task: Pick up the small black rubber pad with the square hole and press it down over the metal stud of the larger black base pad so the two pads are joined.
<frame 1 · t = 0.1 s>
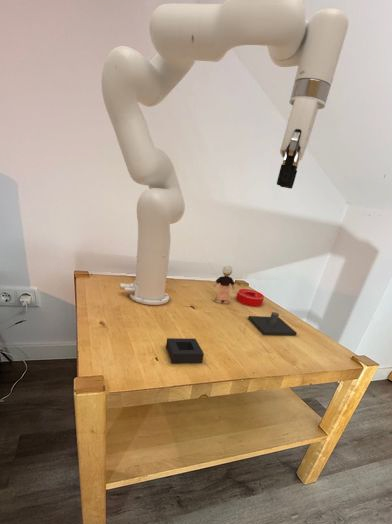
hand: (284, 186, 72), 37 cm above the table, tool pointing down, fingers open, 9 cm apart
grandmother figurine: (220, 302, 104), on the table
top pad: (183, 355, 69), on the table
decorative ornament: (248, 301, 110), on the table
base pad: (271, 326, 92), on the table
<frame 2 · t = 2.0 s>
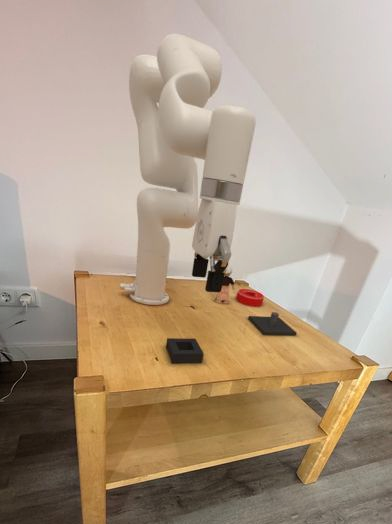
hand: (205, 283, 63), 17 cm above the table, tool pointing down, fingers open, 9 cm apart
nothing on the table moved.
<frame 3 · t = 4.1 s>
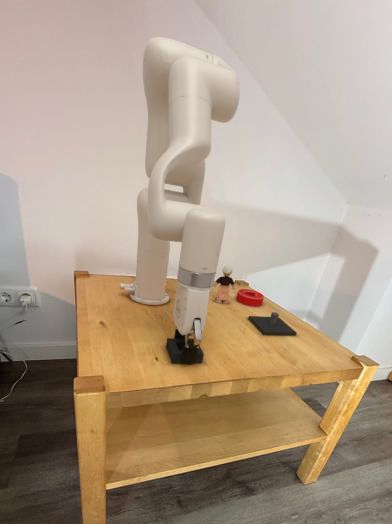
hand: (184, 352, 68), 1 cm above the table, tool pointing down, fingers closed on top pad, 7 cm apart
top pad: (183, 355, 69), on the table, touching gripper
everything else where it was.
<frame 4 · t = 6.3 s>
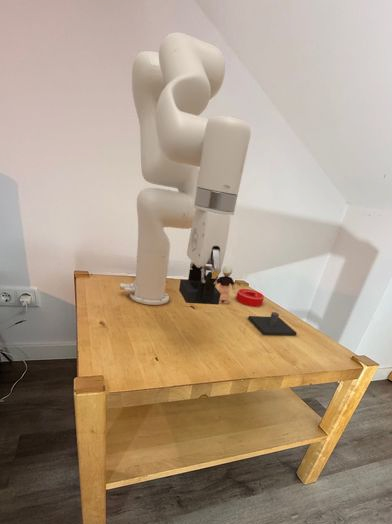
hand: (198, 293, 63), 15 cm above the table, tool pointing down, fingers closed on top pad, 7 cm apart
top pad: (198, 297, 63), point 14 cm above the table, touching gripper
everything else where it was.
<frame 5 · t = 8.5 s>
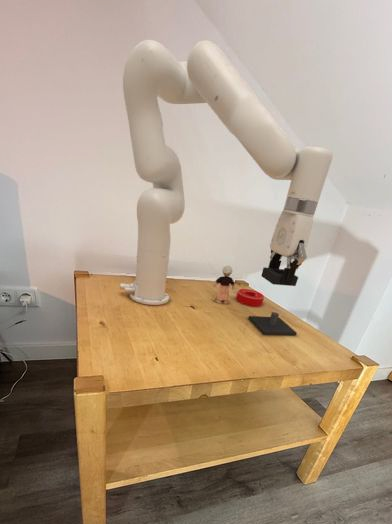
hand: (278, 278, 81), 16 cm above the table, tool pointing down, fingers closed on top pad, 7 cm apart
top pad: (277, 281, 82), point 15 cm above the table, touching gripper
everything else where it was.
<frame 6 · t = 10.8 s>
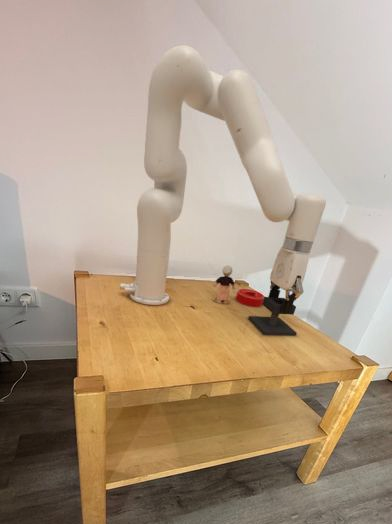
hand: (278, 306, 89), 7 cm above the table, tool pointing down, fingers closed on top pad, 7 cm apart
top pad: (277, 309, 89), point 6 cm above the table, touching gripper
everything else where it was.
when the fingers open (2 cm above the table, at t = 12.7 s): top pad stays where it is, resting on base pad.
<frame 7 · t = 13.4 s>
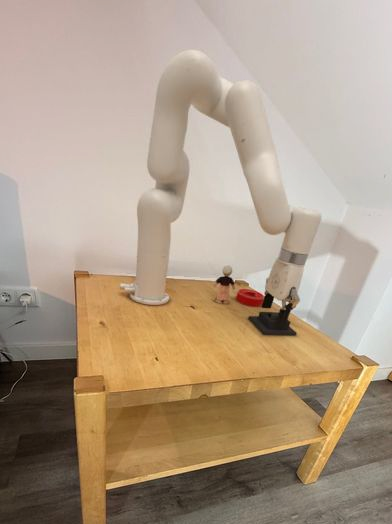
hand: (273, 314, 90), 4 cm above the table, tool pointing down, fingers open, 9 cm apart
top pad: (272, 324, 91), point 1 cm above the table, touching base pad
everything else where it was.
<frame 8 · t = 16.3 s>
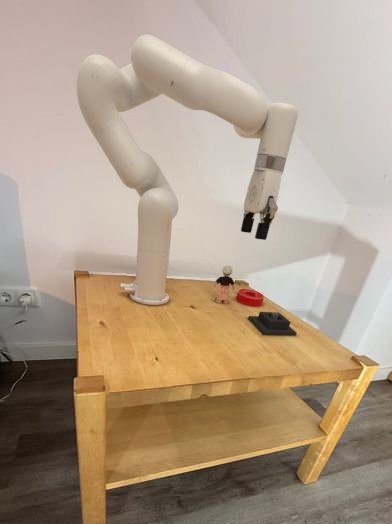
hand: (252, 235, 84), 24 cm above the table, tool pointing down, fingers open, 9 cm apart
nothing on the table moved.
at the end: top pad 0.1 cm off-centre on the base pad, point 1.0 cm above the base pad's base; top pad tilted 0° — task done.
